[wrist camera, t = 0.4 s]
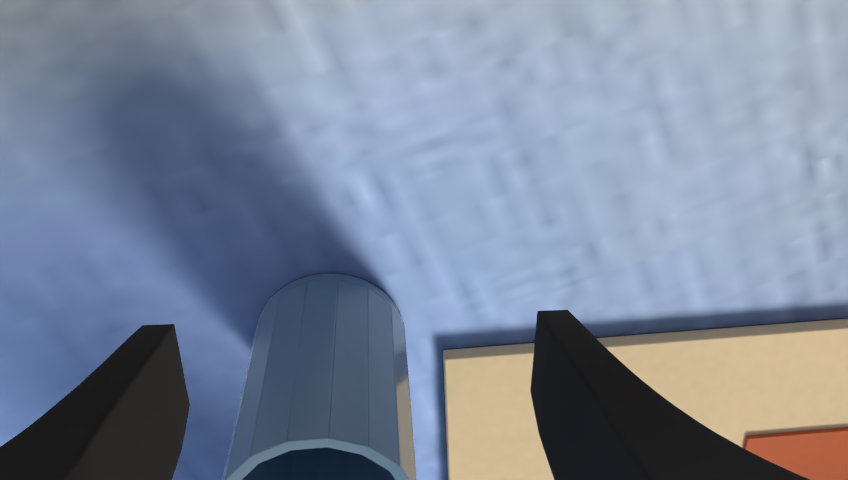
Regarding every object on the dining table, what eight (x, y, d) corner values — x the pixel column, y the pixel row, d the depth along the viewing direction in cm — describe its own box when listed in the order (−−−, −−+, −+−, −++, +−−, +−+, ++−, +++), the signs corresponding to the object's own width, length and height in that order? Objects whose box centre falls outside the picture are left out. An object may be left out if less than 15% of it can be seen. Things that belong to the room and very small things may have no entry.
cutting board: (886, 525, 34) (897, 540, 33) (451, 564, 33) (453, 580, 33) (967, 308, 28) (982, 320, 28) (442, 349, 28) (444, 362, 27)
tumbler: (408, 386, 28) (422, 569, 21) (268, 398, 28) (236, 586, 21) (400, 267, 26) (413, 430, 19) (245, 278, 26) (200, 447, 19)
